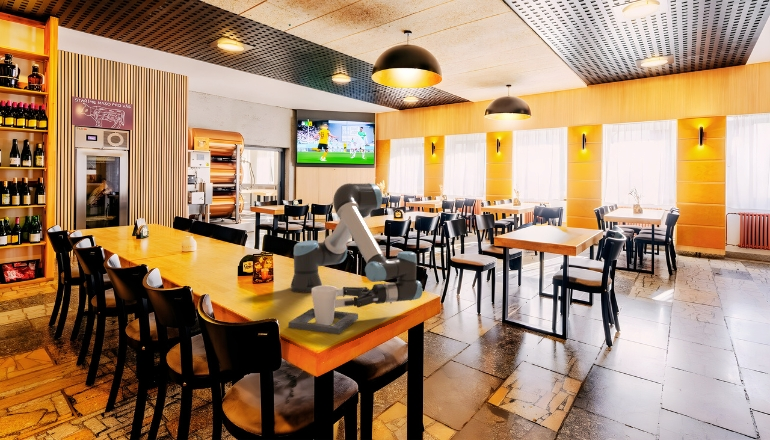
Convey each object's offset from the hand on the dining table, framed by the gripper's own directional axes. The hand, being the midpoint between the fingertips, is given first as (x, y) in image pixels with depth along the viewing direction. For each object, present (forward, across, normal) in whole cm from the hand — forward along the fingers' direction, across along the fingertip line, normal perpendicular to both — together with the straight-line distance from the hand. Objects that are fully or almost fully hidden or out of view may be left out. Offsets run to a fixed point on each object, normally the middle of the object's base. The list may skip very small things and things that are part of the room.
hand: (330, 298), depth 148 cm
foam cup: (+2, 0, -9) cm, 10 cm away
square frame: (+2, 0, -9) cm, 9 cm away
